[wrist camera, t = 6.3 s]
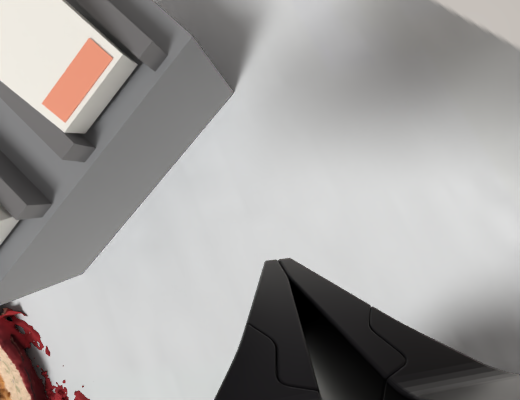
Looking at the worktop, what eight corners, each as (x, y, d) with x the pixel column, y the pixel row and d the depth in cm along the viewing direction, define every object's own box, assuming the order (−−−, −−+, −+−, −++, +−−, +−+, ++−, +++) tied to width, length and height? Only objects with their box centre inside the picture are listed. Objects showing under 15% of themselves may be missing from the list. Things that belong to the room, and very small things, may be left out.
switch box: (233, 92, 21) (180, 18, 12) (82, 273, 24) (-57, 327, 15) (161, 27, 22) (57, -90, 13) (22, 210, 25) (-147, 223, 15)
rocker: (137, 64, 14) (122, 54, 12) (85, 133, 14) (63, 132, 13) (23, -38, 13) (-12, -65, 11) (-28, 41, 13) (-68, 26, 12)
